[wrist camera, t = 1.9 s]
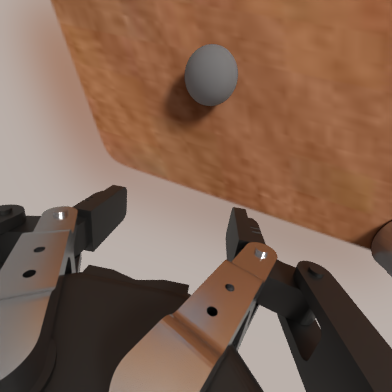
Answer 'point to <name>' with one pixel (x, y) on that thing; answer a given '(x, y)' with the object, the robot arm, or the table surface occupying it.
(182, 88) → the table surface
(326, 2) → the table surface
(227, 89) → the grey ball
